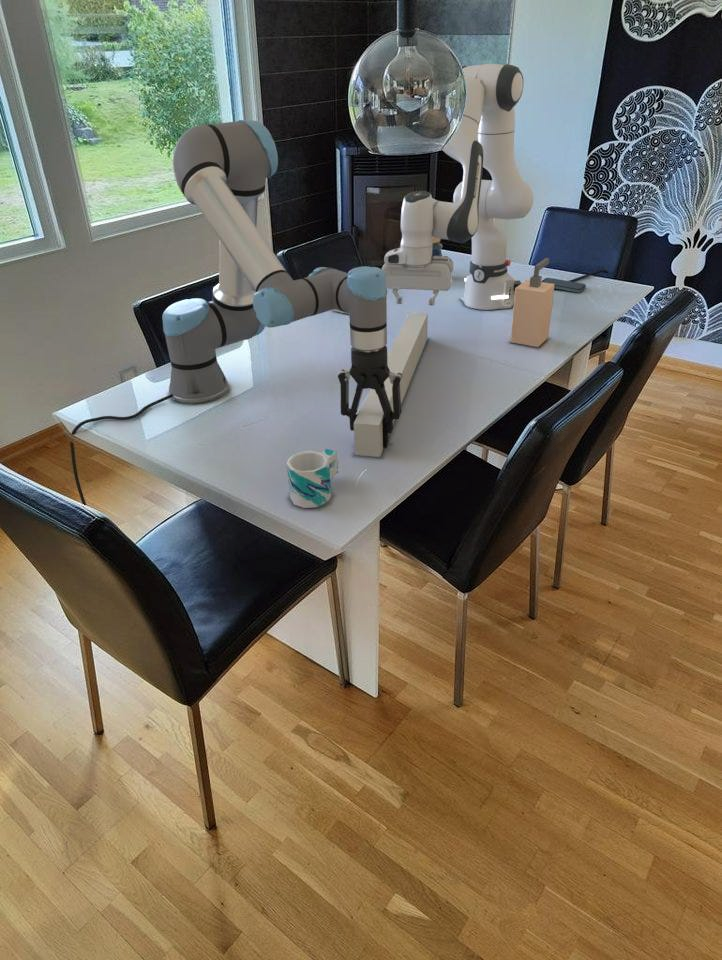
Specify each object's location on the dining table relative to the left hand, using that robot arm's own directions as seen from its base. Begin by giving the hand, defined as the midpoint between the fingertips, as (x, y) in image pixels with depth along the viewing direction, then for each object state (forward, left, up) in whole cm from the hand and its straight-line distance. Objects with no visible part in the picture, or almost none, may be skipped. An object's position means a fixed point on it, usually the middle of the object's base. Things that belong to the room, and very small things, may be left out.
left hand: (371, 443), depth 150 cm
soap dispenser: (+79, -2, -1) cm, 79 cm away
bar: (+28, +13, -1) cm, 31 cm away
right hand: (+56, +25, +12) cm, 63 cm away
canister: (+115, +59, -1) cm, 129 cm away
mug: (-21, -2, -1) cm, 21 cm away
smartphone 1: (+74, +62, -1) cm, 96 cm away
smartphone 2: (+130, +10, -1) cm, 130 cm away
